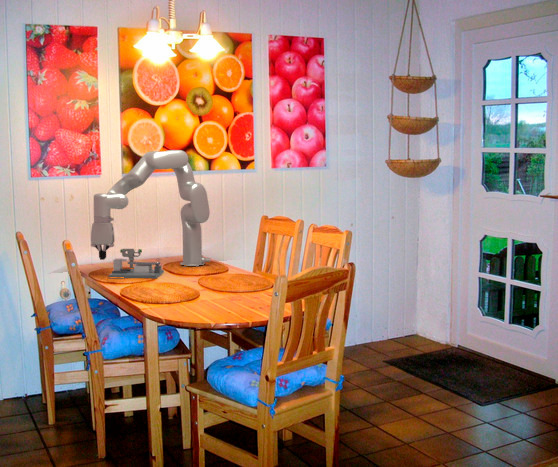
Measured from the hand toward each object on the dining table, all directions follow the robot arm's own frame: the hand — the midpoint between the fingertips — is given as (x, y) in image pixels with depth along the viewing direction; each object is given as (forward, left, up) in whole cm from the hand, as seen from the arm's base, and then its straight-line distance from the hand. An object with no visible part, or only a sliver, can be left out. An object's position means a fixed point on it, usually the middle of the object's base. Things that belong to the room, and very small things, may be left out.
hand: (102, 259), depth 322 cm
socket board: (-16, 0, -8) cm, 18 cm away
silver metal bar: (-19, 0, -3) cm, 20 cm away
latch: (-8, 0, -6) cm, 10 cm away
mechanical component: (-9, -17, -8) cm, 21 cm away
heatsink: (-19, 0, -6) cm, 20 cm away
